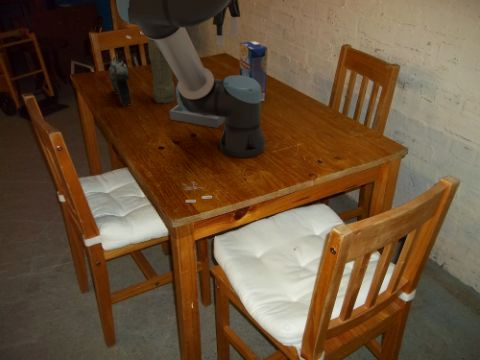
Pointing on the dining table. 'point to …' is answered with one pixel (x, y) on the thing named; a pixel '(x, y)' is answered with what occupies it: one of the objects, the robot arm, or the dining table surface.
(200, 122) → the box
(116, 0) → the robot arm
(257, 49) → the beverage box
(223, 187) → the dining table surface
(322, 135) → the dining table surface
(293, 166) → the dining table surface
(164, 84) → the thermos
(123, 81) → the ceramic cat
